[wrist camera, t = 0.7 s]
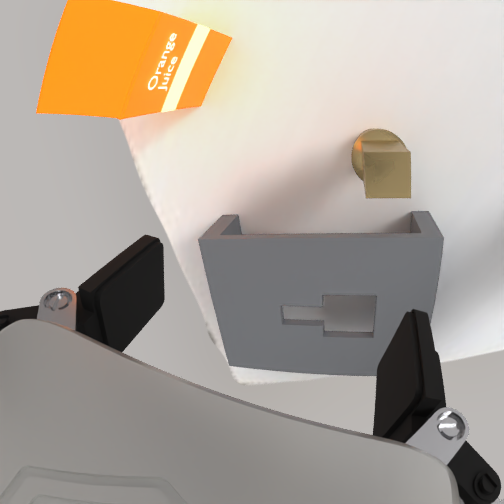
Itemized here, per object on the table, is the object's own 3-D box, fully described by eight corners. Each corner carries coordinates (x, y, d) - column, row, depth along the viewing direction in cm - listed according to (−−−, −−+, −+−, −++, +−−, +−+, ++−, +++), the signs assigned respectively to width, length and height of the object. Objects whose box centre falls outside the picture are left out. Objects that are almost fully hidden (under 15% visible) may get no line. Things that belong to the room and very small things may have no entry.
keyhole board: (428, 211, 32) (443, 237, 26) (412, 338, 39) (417, 375, 33) (222, 215, 39) (198, 239, 33) (245, 332, 47) (229, 365, 41)
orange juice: (233, 37, 29) (111, -3, 12) (201, 107, 34) (68, 134, 17) (175, 18, 29) (39, -11, 12) (148, 83, 34) (9, 101, 17)
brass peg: (396, 123, 29) (422, 138, 18) (398, 170, 31) (422, 210, 20) (349, 124, 30) (349, 139, 20) (352, 171, 32) (353, 210, 22)
